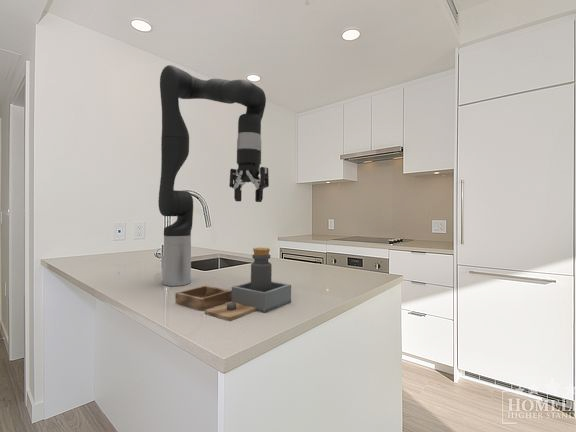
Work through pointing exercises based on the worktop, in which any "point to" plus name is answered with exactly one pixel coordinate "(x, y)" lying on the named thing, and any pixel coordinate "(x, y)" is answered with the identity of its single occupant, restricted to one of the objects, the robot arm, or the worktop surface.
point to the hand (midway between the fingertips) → (248, 201)
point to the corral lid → (230, 311)
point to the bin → (262, 296)
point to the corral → (196, 301)
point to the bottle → (261, 270)
